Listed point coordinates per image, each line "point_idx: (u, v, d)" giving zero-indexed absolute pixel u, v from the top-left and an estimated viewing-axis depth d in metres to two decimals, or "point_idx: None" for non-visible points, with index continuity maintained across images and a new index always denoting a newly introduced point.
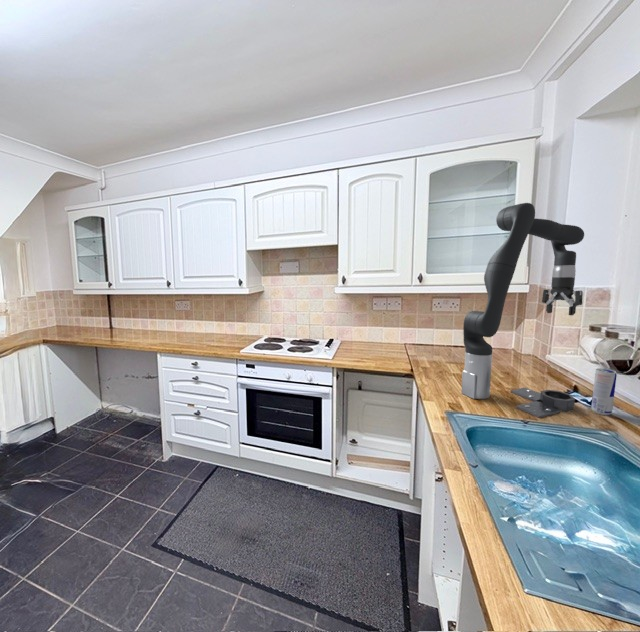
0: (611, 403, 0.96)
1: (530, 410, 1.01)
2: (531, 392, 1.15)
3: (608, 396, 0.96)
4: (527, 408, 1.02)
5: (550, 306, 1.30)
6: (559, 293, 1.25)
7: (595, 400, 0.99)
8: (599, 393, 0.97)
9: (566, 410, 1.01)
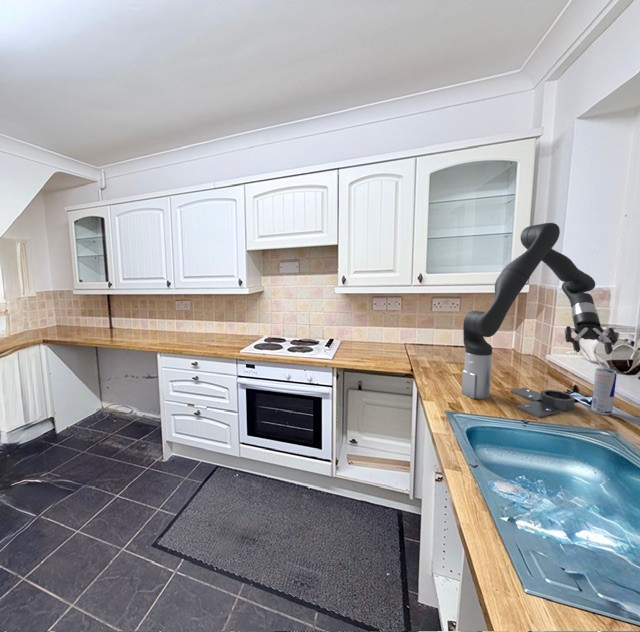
0: (611, 403, 0.96)
1: (530, 410, 1.01)
2: (531, 392, 1.15)
3: (608, 396, 0.96)
4: (527, 408, 1.02)
5: None
6: (588, 330, 1.11)
7: (595, 400, 0.99)
8: (599, 393, 0.97)
9: (566, 410, 1.01)
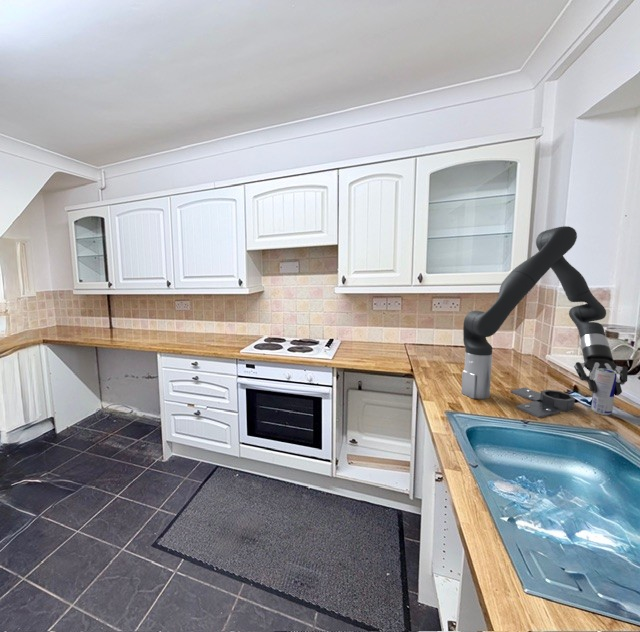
0: (611, 403, 0.96)
1: (530, 410, 1.01)
2: (531, 392, 1.15)
3: (608, 396, 0.96)
4: (527, 408, 1.02)
5: None
6: (600, 365, 1.01)
7: (595, 400, 0.98)
8: (599, 393, 0.97)
9: (566, 410, 1.01)
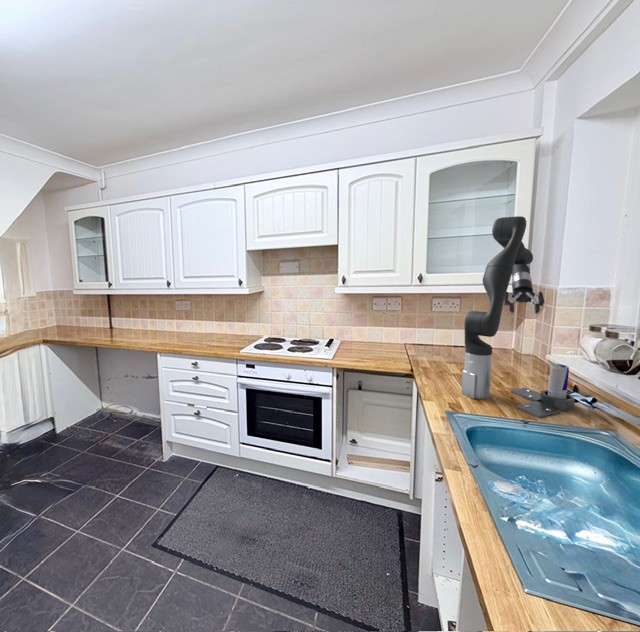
0: (564, 396, 1.02)
1: (530, 410, 1.01)
2: (531, 392, 1.15)
3: (561, 390, 1.02)
4: (527, 408, 1.02)
5: None
6: (522, 294, 1.29)
7: (550, 393, 1.05)
8: (553, 387, 1.03)
9: (566, 410, 1.01)
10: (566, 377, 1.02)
